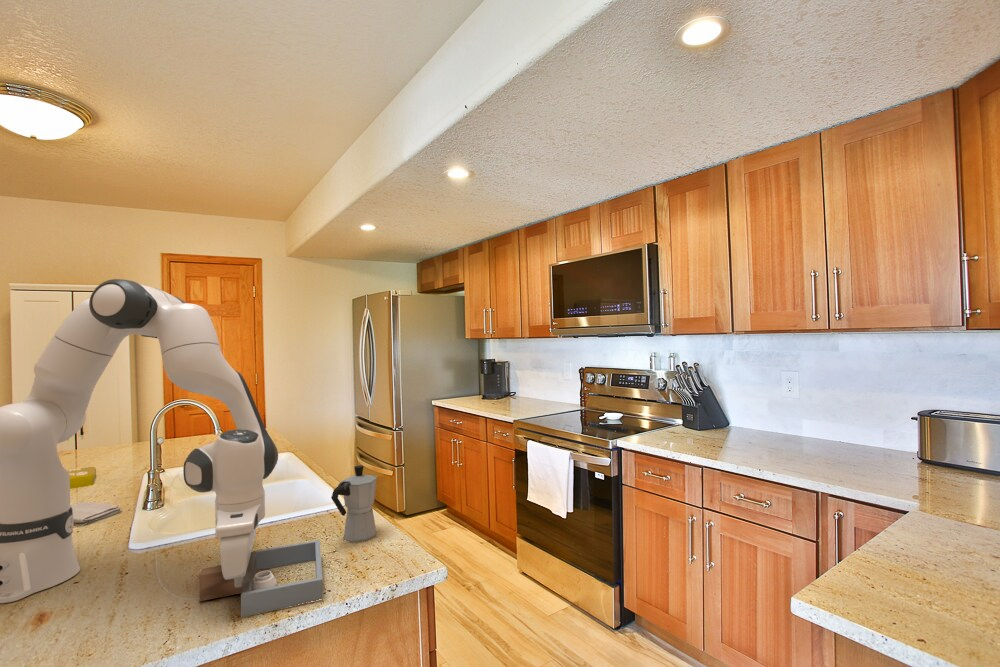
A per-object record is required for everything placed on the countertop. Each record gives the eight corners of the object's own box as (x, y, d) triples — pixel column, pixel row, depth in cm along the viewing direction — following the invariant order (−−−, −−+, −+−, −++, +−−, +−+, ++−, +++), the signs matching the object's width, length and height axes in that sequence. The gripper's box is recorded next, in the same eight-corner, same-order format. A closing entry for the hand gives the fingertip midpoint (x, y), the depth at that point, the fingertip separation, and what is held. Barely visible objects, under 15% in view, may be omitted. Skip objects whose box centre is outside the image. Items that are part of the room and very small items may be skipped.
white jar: (244, 592, 96) (261, 597, 94) (243, 577, 96) (261, 582, 94) (265, 580, 101) (282, 584, 99) (264, 566, 101) (282, 570, 99)
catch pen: (241, 617, 87) (240, 595, 87) (252, 569, 105) (252, 551, 105) (322, 600, 92) (322, 579, 92) (320, 557, 111) (319, 539, 111)
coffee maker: (366, 524, 130) (365, 458, 130) (390, 530, 126) (389, 462, 126) (321, 544, 117) (320, 472, 117) (345, 552, 113) (344, 476, 113)
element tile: (96, 477, 184) (96, 464, 184) (93, 486, 172) (93, 473, 172) (43, 485, 175) (43, 472, 175) (36, 495, 163) (36, 481, 163)
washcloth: (84, 528, 132) (84, 517, 132) (32, 525, 135) (32, 514, 136) (125, 513, 144) (125, 503, 144) (77, 510, 147) (76, 500, 147)
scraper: (192, 616, 86) (192, 589, 87) (207, 580, 99) (207, 556, 100) (249, 605, 90) (248, 578, 90) (256, 571, 103) (256, 548, 103)
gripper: (230, 498, 104) (231, 561, 104) (213, 532, 85) (214, 609, 85) (262, 494, 107) (263, 555, 106) (252, 527, 88) (253, 602, 88)
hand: (241, 580), depth 96 cm, fingers closed on scraper, 3 cm apart
